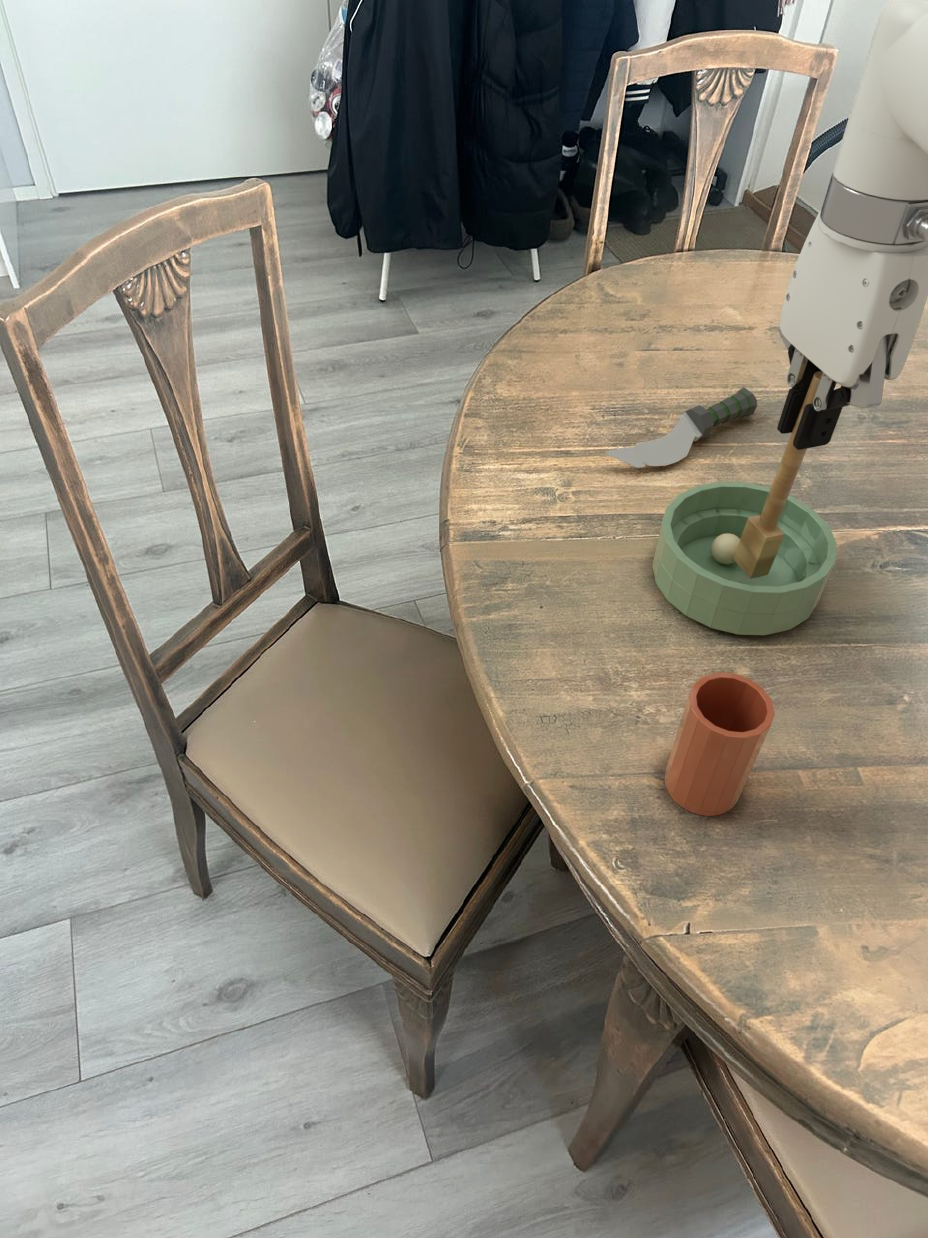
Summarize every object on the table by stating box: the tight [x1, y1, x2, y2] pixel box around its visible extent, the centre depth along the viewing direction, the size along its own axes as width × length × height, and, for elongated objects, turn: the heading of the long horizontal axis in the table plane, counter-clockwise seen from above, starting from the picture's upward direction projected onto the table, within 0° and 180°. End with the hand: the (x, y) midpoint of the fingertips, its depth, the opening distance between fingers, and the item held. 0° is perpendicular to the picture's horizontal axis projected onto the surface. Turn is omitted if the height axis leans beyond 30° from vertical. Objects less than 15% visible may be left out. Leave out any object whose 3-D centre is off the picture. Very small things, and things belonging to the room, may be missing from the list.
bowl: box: [651, 481, 838, 636], centre depth 83 cm, size 16×16×6 cm
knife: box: [604, 386, 758, 469], centre depth 99 cm, size 22×4×5 cm
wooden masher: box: [733, 371, 823, 579], centre depth 76 cm, size 3×2×20 cm, turn 20°
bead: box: [711, 533, 740, 564], centre depth 85 cm, size 3×3×3 cm
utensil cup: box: [664, 671, 776, 817], centre depth 65 cm, size 6×6×10 cm
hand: (802, 436), depth 73 cm, fingers closed on wooden masher, 1 cm apart
